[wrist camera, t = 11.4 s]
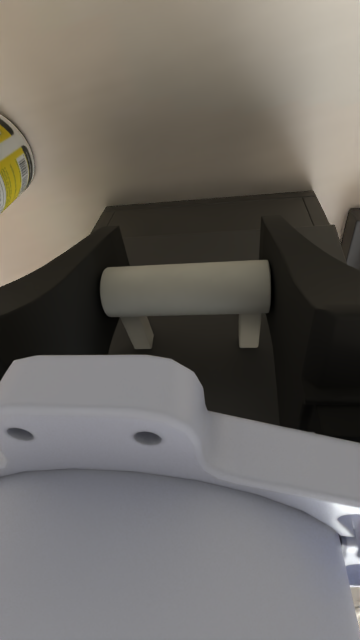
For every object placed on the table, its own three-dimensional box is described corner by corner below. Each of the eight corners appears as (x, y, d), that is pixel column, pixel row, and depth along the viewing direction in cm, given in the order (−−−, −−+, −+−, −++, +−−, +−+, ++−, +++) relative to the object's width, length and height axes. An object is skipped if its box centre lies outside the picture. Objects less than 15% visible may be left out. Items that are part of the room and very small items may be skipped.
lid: (410, 500, 9) (518, 461, 6) (6, 478, 11) (-100, 439, 8) (331, 235, 16) (359, 141, 12) (85, 249, 18) (48, 171, 14)
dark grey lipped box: (293, 322, 26) (302, 364, 23) (139, 325, 28) (129, 364, 25) (313, 190, 19) (331, 225, 16) (106, 206, 21) (85, 241, 18)
